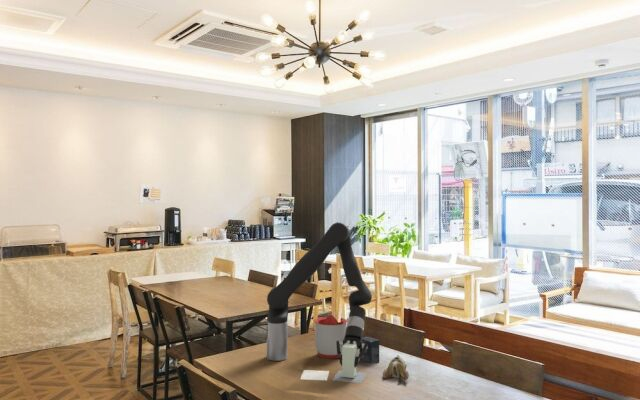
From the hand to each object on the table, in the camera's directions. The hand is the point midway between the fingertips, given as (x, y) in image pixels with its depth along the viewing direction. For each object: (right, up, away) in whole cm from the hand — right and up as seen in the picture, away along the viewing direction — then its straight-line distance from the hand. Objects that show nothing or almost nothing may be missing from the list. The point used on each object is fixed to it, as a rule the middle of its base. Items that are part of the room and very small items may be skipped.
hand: (348, 365), depth 202 cm
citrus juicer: (-6, -6, +33) cm, 34 cm away
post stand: (+1, -6, +2) cm, 6 cm away
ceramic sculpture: (+21, -7, +4) cm, 22 cm away
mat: (-14, -6, +3) cm, 16 cm away
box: (+11, -6, +24) cm, 27 cm away
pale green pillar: (0, -5, +2) cm, 5 cm away
